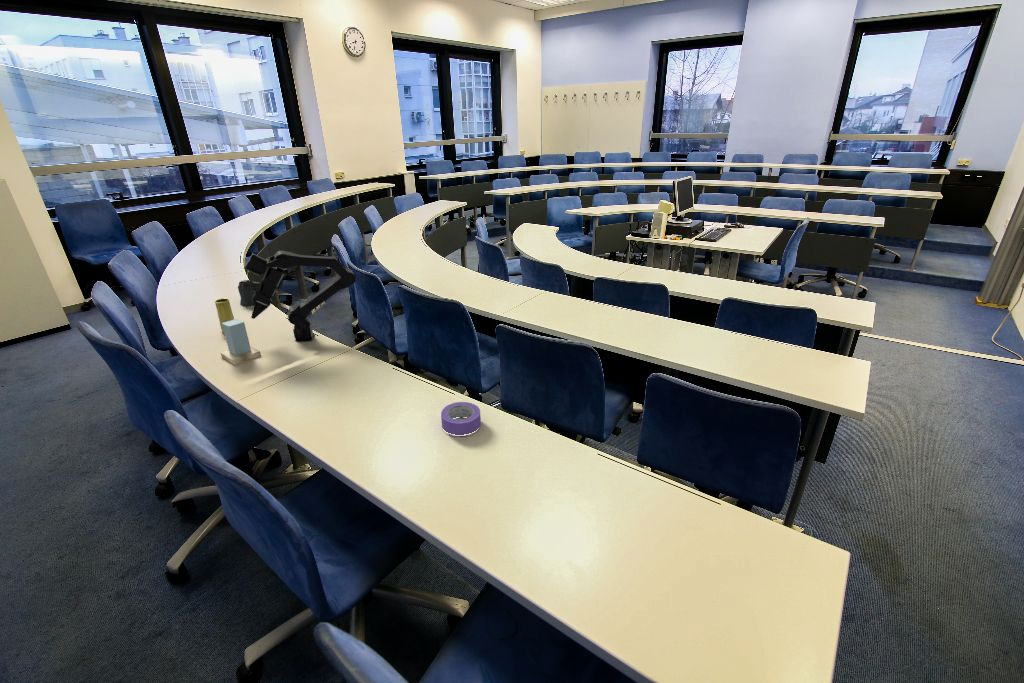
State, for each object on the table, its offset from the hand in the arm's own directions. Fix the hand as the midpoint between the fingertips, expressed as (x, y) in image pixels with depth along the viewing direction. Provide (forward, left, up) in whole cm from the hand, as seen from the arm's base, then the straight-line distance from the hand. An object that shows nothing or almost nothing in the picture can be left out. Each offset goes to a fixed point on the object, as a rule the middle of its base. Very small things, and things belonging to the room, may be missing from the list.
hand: (252, 316), depth 182 cm
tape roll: (-77, +64, -14) cm, 101 cm away
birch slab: (+4, +9, -13) cm, 16 cm away
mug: (+23, -57, -14) cm, 63 cm away
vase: (+19, -20, -14) cm, 31 cm away
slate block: (+4, +9, -11) cm, 14 cm away
